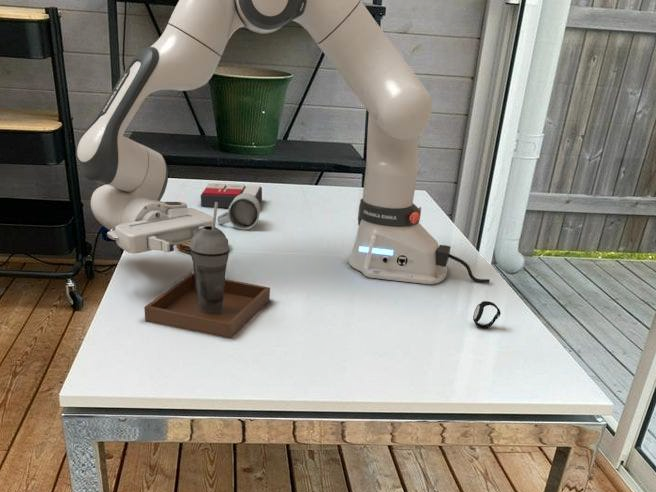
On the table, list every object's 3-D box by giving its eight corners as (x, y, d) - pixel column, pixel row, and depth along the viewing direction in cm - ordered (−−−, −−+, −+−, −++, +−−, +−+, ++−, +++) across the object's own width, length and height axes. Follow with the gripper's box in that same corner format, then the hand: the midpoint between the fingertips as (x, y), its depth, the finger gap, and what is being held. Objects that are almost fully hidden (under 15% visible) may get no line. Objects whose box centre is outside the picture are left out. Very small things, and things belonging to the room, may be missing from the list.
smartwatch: (473, 321, 152) (478, 297, 149) (499, 327, 150) (504, 303, 147) (468, 328, 149) (472, 303, 146) (493, 334, 147) (499, 309, 144)
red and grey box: (207, 181, 209) (262, 184, 209) (208, 198, 212) (262, 200, 211) (199, 192, 200) (256, 194, 200) (201, 208, 203) (257, 211, 202)
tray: (269, 300, 152) (270, 287, 151) (231, 338, 137) (231, 324, 135) (191, 285, 156) (191, 272, 154) (145, 321, 140) (144, 306, 138)
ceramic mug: (260, 221, 195) (261, 190, 191) (258, 231, 189) (259, 199, 184) (219, 219, 195) (218, 187, 191) (215, 228, 188) (215, 196, 184)
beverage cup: (191, 301, 149) (189, 195, 137) (229, 302, 149) (230, 197, 138) (189, 316, 143) (187, 206, 131) (229, 317, 143) (230, 208, 132)
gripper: (100, 215, 142) (143, 235, 135) (189, 200, 155) (233, 217, 147) (103, 249, 146) (145, 270, 138) (189, 231, 158) (232, 250, 151)
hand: (191, 243), depth 143 cm, fingers open, 8 cm apart
